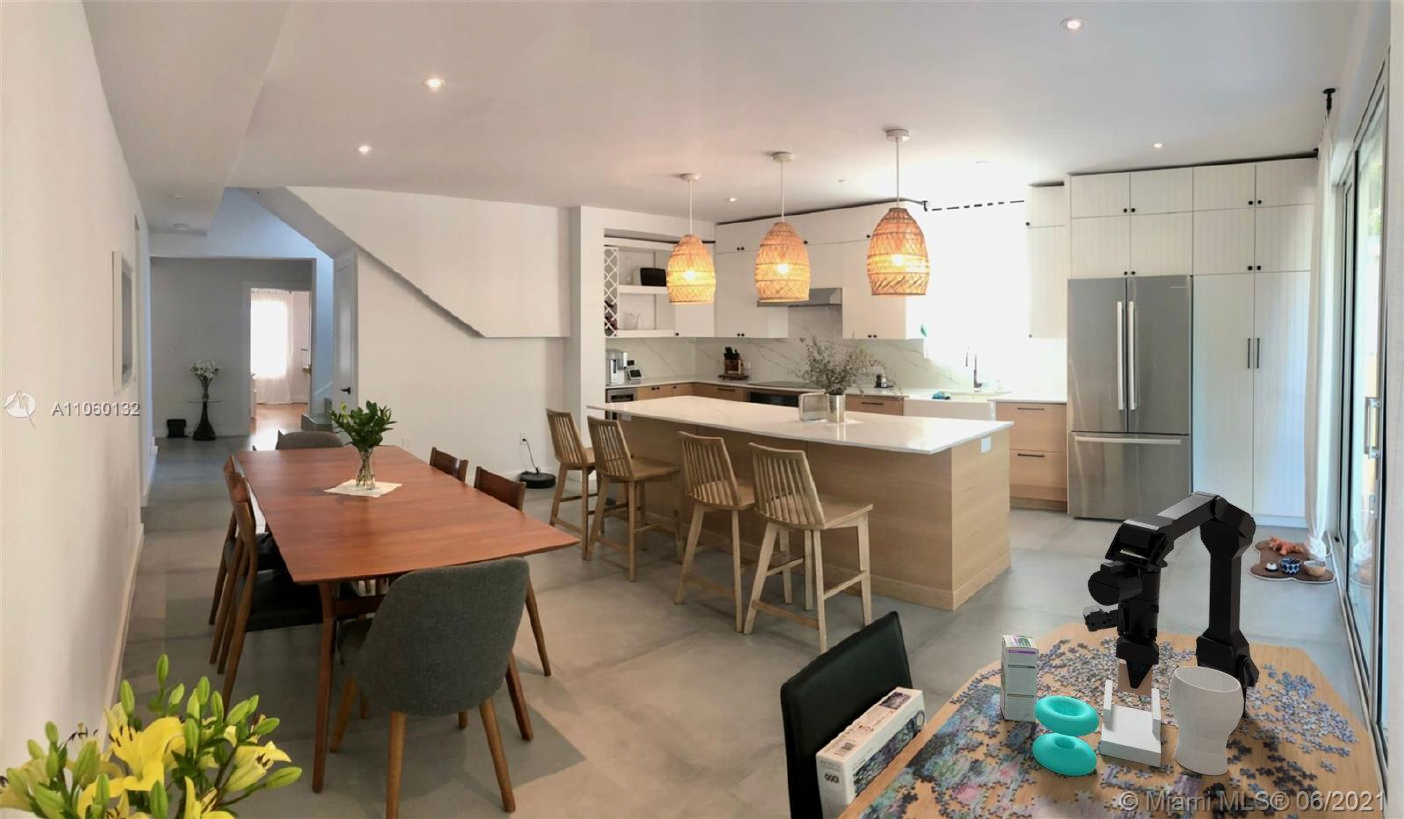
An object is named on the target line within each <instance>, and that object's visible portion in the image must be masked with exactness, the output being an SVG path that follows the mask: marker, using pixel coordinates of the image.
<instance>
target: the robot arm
mask: <svg viewBox="0 0 1404 819" xmlns="http://www.w3.org/2000/svg"><path fill="white" fill-rule="evenodd" d="M1198 527H1199V536H1200V537H1199V538H1200V541H1201V542H1202V544H1203V545H1204V547H1205V548H1206V550H1207V551H1208V553H1209V599H1208V627H1207V628H1206V629H1205V630H1204V632H1203V633H1201V635H1199V636H1197V638H1196V639H1195V643H1196V647H1195V648H1196V649H1195V654H1194V655H1195V659H1196V664H1197V666H1198V667H1205V668H1210V669H1214V670H1217V671H1221V672H1224V673H1226V674H1228V675H1230V676H1232V677H1234V678H1235V679H1237V680H1238V681H1239V682H1240V685H1241V688H1242V693H1243V699H1244V705H1243V713H1242V716H1241V718H1244V719H1245V718H1247V717H1248V714H1247V710H1246V706H1247V696H1248V695H1247V694H1248V688H1255V687H1256V685H1257V683H1258V681H1259V679H1260V673H1261V672H1260V670H1259V669H1258V667H1257V666H1256V664H1255V662H1254V661H1253V659H1252V658H1251V650H1250V649H1251V648H1250V643H1249V642H1248V640H1247V638H1246V637H1245V635H1244V633H1243V632H1242V630H1241V629H1240V626H1241V625H1240V622H1241V618H1240V616H1241V588H1242V587H1241V586H1242V585H1241V584H1242V558H1243V557H1242V556H1243V555H1244V553H1245V552H1246V551H1247V550H1248V549H1249V548H1250V546H1252V544H1253V540H1254V536H1255V534H1256V530H1257V523H1256V521H1255V518H1254V516H1251V514H1250V513H1249V512H1248V511H1246V510H1243V509H1242V508H1240V507H1238V506H1236V505H1234V504H1232V503H1230V502H1229V501H1228V500H1227V499H1226V498H1225V497H1223V496H1221V495H1219V494H1216V493H1211V492H1205V491H1200V490H1197V491H1193V492H1191V493H1190V494H1189V496H1188V497H1186V498H1184V499H1183V500H1181V501H1179V502H1177V503H1174V505H1172V506H1170V507H1168V508H1166V509H1164V510H1163V511H1161V512H1158V513H1157V514H1155V515H1145V516H1144V515H1142V516H1141V515H1140V516H1139V515H1138V516H1134V517H1131V518H1127V519H1125V520H1124V521H1123V522H1122V524H1121V525H1119V527H1118V529H1117V530H1116V532H1115V535H1114V537H1113V538H1112V541H1111V542H1110V545H1109V546H1108V549H1107V551H1106V553H1105V554H1104V560H1107V561H1110V562H1102V563H1100V565H1099V570H1097V571H1094V572H1093V573H1092V574H1090V576H1089V579H1088V580H1087V589H1088V593H1089V594H1090V596H1091V598H1092V599H1093V600H1094V601H1095V602H1096V603H1097V604H1091V605H1087V606H1084V607H1083V609H1082V610H1083V611H1082V616H1083V618H1084V624H1085V626H1086V627H1087V630H1088V632H1090V633H1094V632H1096V633H1097V632H1098V631H1100V630H1101V631H1102V630H1108V629H1114V628H1116V632H1117V636H1118V637H1117V638H1116V642H1115V643H1116V644H1115V645H1116V646H1115V658H1117V659H1118V660H1119V659H1123V660H1125V661H1126V665H1127V670H1128V676H1129V682H1130V687H1131V688H1134V689H1138V687H1139V686H1140V684H1141V683H1142V681H1143V680H1144V678H1145V677H1146V675H1147V674H1148V672H1149V670H1150V669H1151V668H1152V666H1153V667H1154V666H1158V665H1159V664H1160V663H1159V662H1160V645H1159V644H1158V643H1157V637H1158V618H1159V617H1158V616H1159V613H1160V603H1159V602H1160V594H1161V593H1160V589H1161V576H1162V569H1164V568H1167V567H1168V566H1169V563H1168V562H1167V561H1166V560H1165V558H1166V557H1167V556H1168V555H1169V554H1170V553H1172V551H1174V549H1175V541H1176V540H1177V539H1179V538H1180V537H1183V535H1185V534H1188V533H1189V532H1191V531H1193V530H1194V529H1196V528H1198ZM1122 551H1123V552H1122ZM1131 554H1133V555H1131ZM1138 556H1139V557H1138Z"/></svg>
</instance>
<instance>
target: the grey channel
mask: <svg viewBox="0 0 1404 819" xmlns="http://www.w3.org/2000/svg"><path fill="white" fill-rule="evenodd" d="M1113 684H1114V683H1113V679H1112V680H1110V679H1107V678H1106V679H1105V687H1104V696H1103V710H1102V726H1101V735H1100V736H1101V737H1100V749H1099V750H1100V751H1099V752H1100V755H1105V756H1110V757H1113V758H1118V759H1122V760H1127V761H1131V762H1135V763H1140V764H1143V765H1149V766H1152V767H1159V768H1160V767H1161V759H1162V758H1161V756H1162V753H1161V752H1162V751H1161V750H1162V746H1161V723H1162V719H1161V700H1160V689H1159V688H1153V687H1151V697H1150V706H1149V708H1150V710H1149V711H1148V710H1146V709H1139V708H1135V707H1129V706H1125V705H1121V704H1120V705H1119V704H1114V703H1112V698H1113V696H1112V695H1113Z"/></svg>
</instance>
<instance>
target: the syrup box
mask: <svg viewBox="0 0 1404 819" xmlns="http://www.w3.org/2000/svg"><path fill="white" fill-rule="evenodd" d="M1038 652H1039V650H1038V647H1037V645H1036V643H1035V641H1034V639H1033V636H1028V635H1027V636H1026V635H1019V634H1016V635H1015V634H1006V635H1005V634H1002V635H1001V652H1000V653H1001V656H1000V657H1001V659H1000V688H999V689H1000V692H999V693H1000V695H999V696H1000V697H999V700H1000V701H999V707H1000V709H1001V712H1002V716H1003V718H1004V720H1008V721H1017V722H1028V723H1036V720H1037V718H1036V716H1035V712H1034V708H1035V705H1036V703H1037V693H1038V691H1037V690H1038V658H1039V657H1038V656H1039V654H1038Z"/></svg>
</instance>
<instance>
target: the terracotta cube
mask: <svg viewBox="0 0 1404 819" xmlns="http://www.w3.org/2000/svg"><path fill="white" fill-rule="evenodd" d="M1153 667H1154V665H1153V666H1152V668H1151V669H1150V670H1149V672H1148V674H1147V675H1146V677H1145V678H1144V680H1143V681H1142V683H1141V684H1140V686H1139V687H1138V689H1134V688H1131V687H1130V682H1129V676H1128V670H1127V665H1126V661H1125V660H1123V659H1119V658H1118V676H1117V691H1120V692H1124V693H1129V694H1134V695H1139V696H1144V697H1145V696H1146V697H1150V698H1151V692H1152V684H1153V683H1152V682H1153V673H1154V672H1153V669H1154V668H1153Z"/></svg>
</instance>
